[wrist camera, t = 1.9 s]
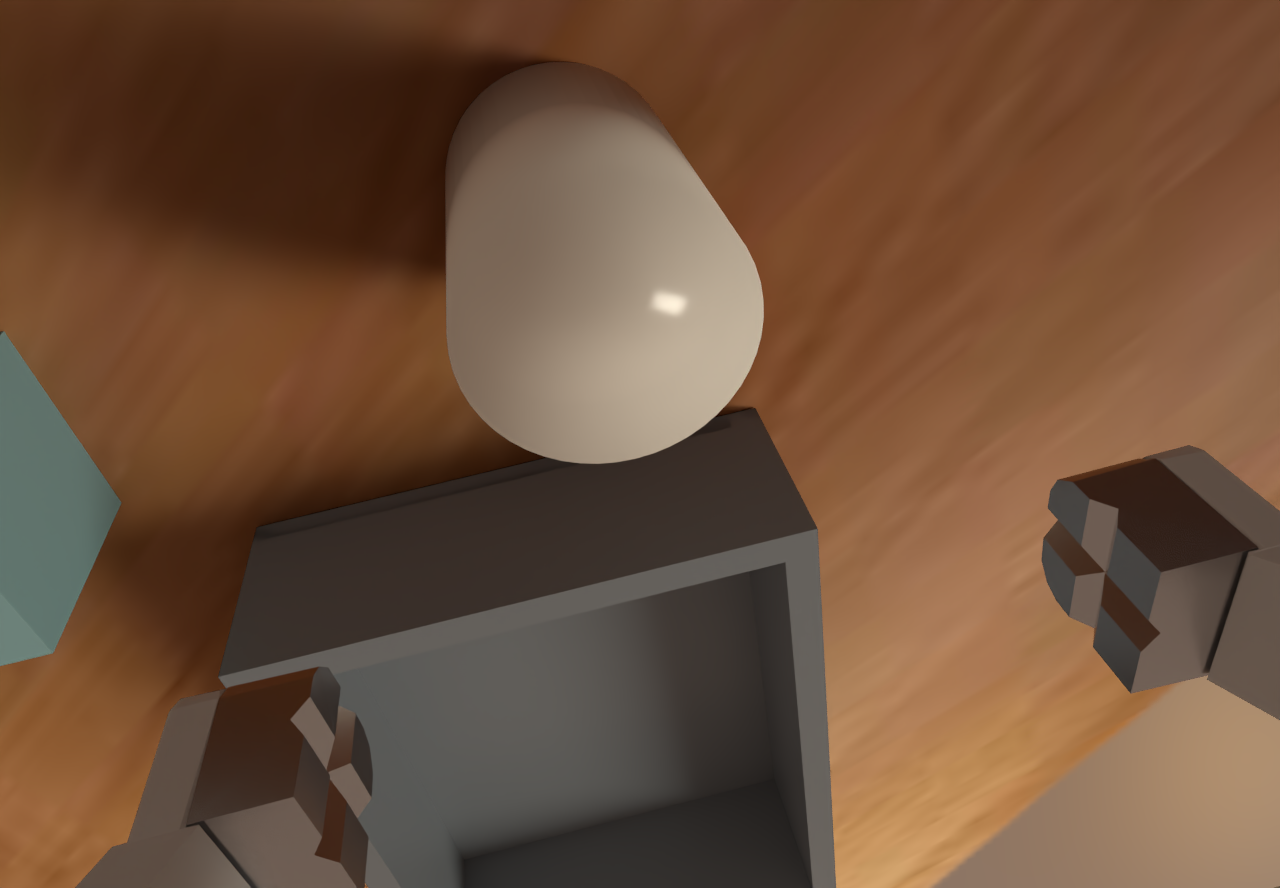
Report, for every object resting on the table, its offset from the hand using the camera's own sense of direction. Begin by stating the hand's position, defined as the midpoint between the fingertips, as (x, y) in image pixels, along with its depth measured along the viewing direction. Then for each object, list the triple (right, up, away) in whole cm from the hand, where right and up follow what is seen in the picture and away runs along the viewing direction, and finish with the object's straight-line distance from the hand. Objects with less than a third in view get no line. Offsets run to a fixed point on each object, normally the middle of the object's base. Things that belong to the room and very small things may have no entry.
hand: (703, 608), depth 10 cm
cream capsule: (-2, +8, +10) cm, 13 cm away
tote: (-3, -6, +19) cm, 20 cm away
